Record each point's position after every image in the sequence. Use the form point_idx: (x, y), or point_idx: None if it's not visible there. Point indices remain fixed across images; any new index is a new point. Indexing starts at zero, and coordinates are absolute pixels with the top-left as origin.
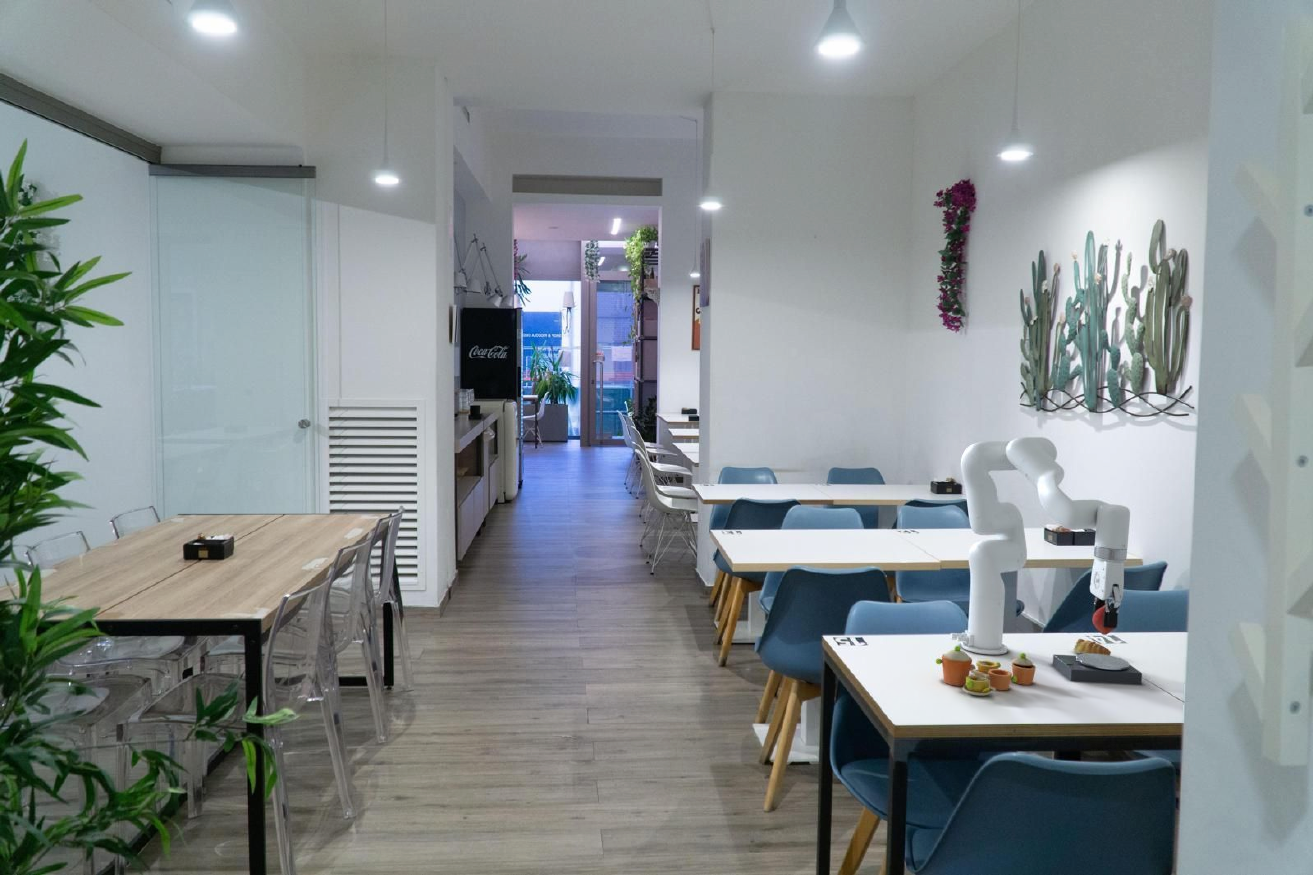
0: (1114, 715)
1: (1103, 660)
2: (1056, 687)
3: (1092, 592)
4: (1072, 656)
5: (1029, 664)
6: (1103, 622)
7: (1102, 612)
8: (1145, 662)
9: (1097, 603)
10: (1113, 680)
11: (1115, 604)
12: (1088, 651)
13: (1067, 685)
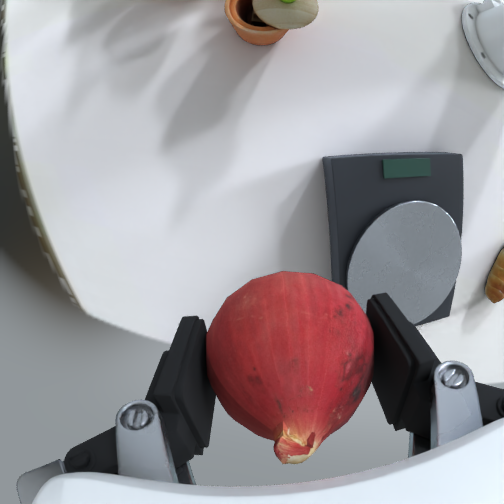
0: (72, 215)
1: (410, 273)
2: (244, 103)
3: (467, 457)
4: (455, 203)
5: (259, 15)
6: (182, 330)
7: (238, 380)
8: (462, 349)
9: (429, 387)
10: (333, 272)
11: (41, 468)
12: (502, 260)
13: (275, 137)
